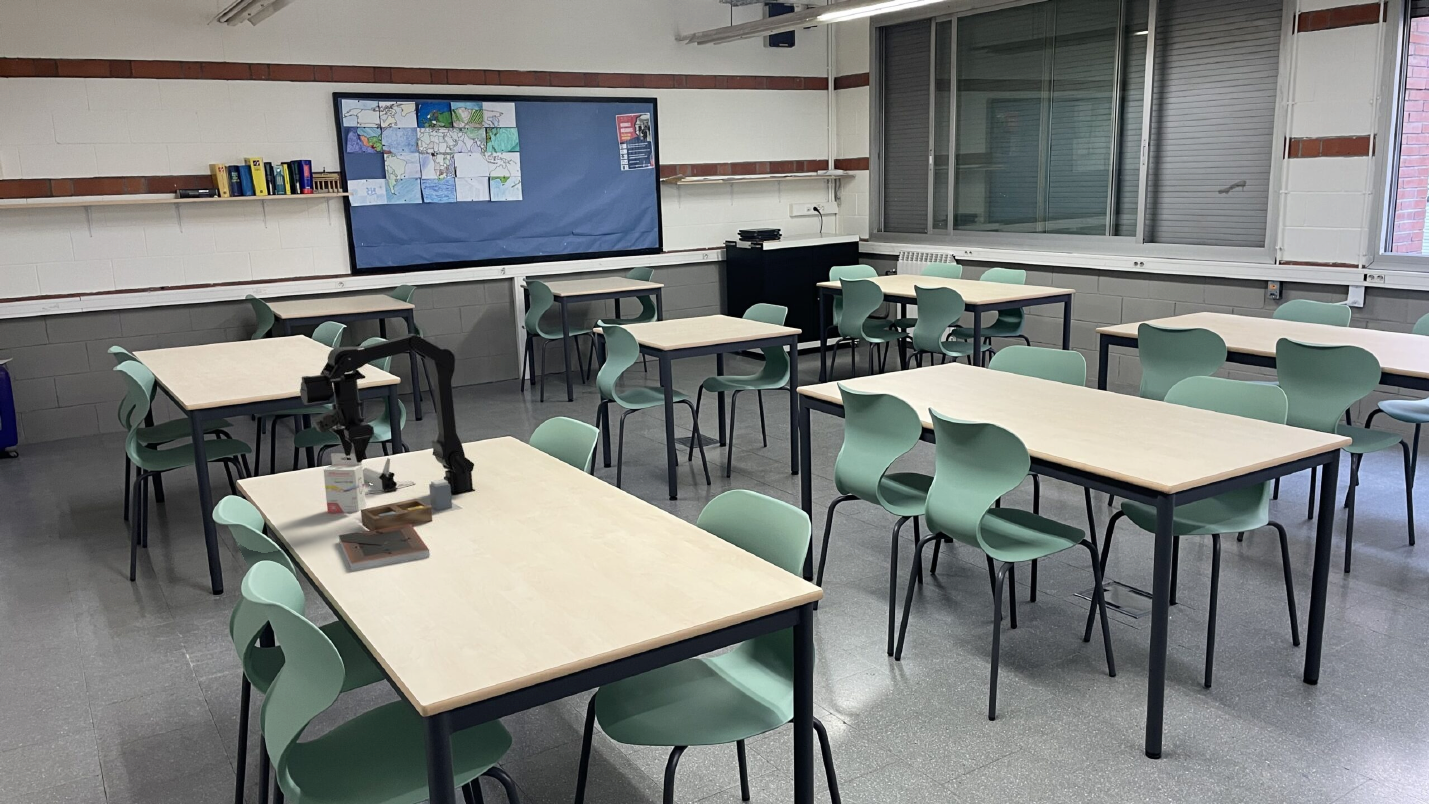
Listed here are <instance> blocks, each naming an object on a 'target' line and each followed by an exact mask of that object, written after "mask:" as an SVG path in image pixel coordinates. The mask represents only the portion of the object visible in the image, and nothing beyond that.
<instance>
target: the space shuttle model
mask: <svg viewBox="0 0 1429 804" xmlns="http://www.w3.org/2000/svg"><path fill="white" fill-rule="evenodd" d="M390 464H391V459H390V458H389V457H387V459H386V461H385V464H384V466H383V469H382V472H381V471H378V470H375V469H373V468H370V467H365V468H363V478H364V482H367V483H368V482H369V483H371V484H373V485H370V487H368V486H367V487H368V488H366V487H364V488H365V495H368V494H369V495H371V494H378V493H384V492H389V491H394V490H395V491H396V490H400V489H403V488H406V487H409V486H412V485H416V483H415V482H414V481H412V480H411V481H410V480H407V481H395V479H394V477H395V473H394V472H391V471H390ZM399 488H400V489H399Z"/></svg>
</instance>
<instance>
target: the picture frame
mask: <svg viewBox="0 0 1429 804" xmlns="http://www.w3.org/2000/svg"><path fill="white" fill-rule="evenodd" d="M413 526H414V525H413ZM413 526H412V525H411V524H407V525H401V526H395V527H389V528H383V529H377V530H370V531H369V530H366V531H361V532H360V531H355V532H350V533H343V534H339V535H338V540H339V541H338V542H339V545H340V546H341V549H342V550H343V553H344V556H345V558H346V560H347V562H348V564H349V567H350V568H351V571H354V572H355V571H359V570H364V569H370V568H377V567H382V566H387V564H388V565H392V563H393V564H399V563H402V562H401V561H404V562H407V561H406V560H410V561H413V560H412V559H416V560H419V559H418V558H421V559H427V558H430V557H431V554H430V549H429V548H428V546H427V545H426V543H425V542H424V540H423V539H422V538H421V537H420V535H419V534H418V532H417V530H415V528H414V527H413ZM429 556H430V557H429ZM426 557H427V558H426ZM398 562H399V563H398Z"/></svg>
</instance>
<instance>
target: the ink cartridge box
mask: <svg viewBox="0 0 1429 804" xmlns="http://www.w3.org/2000/svg"><path fill="white" fill-rule="evenodd" d="M344 458H348V459H344ZM330 459H331V465H329V466H327V467H325V468H324V469H323V478H324V489H325V499H326V507H327V508H326V509H327V514H348V512H349V513H350V512H356V513H357V512H361V510H362V509H366V507H367V501H366V500H367V499H366V494H365V488H366V487H365V480H364V478H363V469H364V468H363V464H362V462H360V463H357V461H356V458H355V454H354V453H351V454H350V455H349V456H346V455H345V453H331V454H330Z"/></svg>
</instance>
